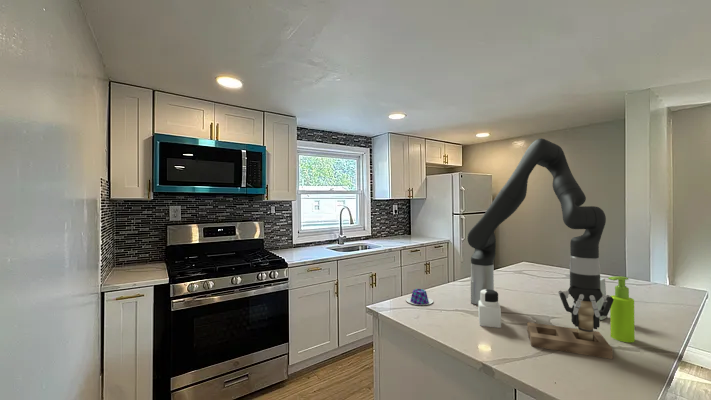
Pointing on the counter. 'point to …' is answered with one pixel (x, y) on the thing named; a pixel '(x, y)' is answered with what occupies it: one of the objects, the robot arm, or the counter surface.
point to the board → (567, 340)
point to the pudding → (419, 297)
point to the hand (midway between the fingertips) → (585, 326)
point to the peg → (585, 321)
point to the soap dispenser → (622, 312)
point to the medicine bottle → (489, 309)
